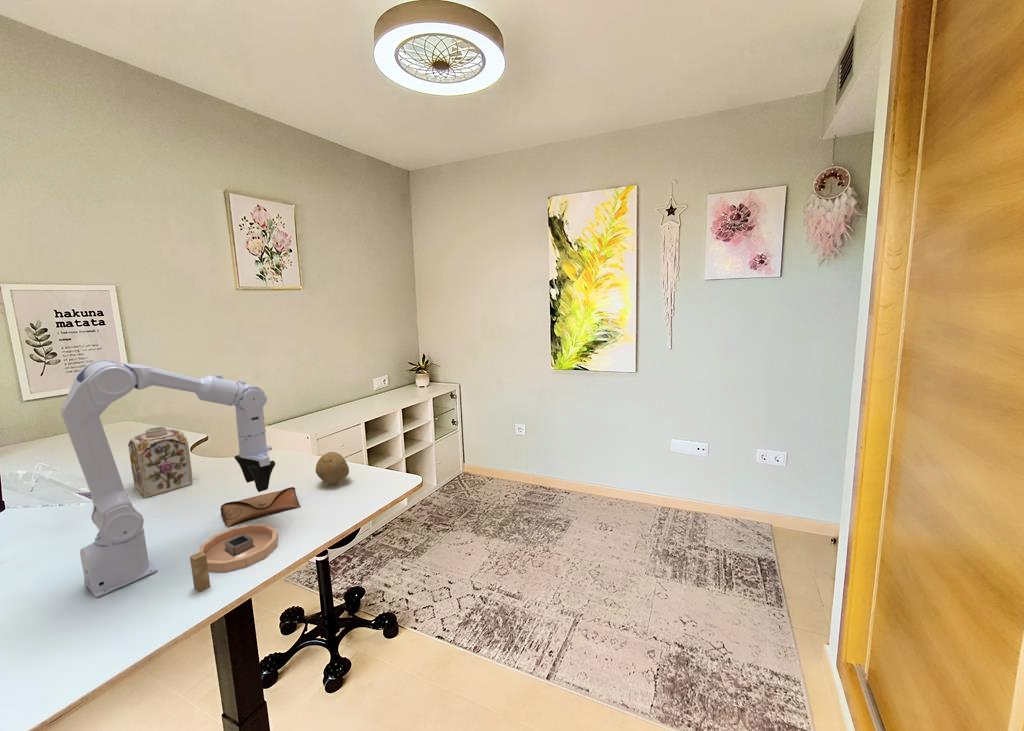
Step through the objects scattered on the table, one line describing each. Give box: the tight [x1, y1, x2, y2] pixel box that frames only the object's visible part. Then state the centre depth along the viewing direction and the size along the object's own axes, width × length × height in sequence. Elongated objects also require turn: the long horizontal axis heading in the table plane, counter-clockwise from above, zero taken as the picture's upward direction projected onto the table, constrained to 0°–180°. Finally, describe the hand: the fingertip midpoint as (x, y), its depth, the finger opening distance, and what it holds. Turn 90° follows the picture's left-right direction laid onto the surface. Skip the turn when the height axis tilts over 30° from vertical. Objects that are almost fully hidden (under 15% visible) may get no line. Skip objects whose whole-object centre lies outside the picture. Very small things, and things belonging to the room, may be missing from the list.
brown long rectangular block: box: [189, 551, 211, 593], centre depth 83 cm, size 2×2×7 cm
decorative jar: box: [127, 426, 194, 499], centre depth 125 cm, size 12×12×18 cm
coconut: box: [315, 451, 350, 486], centre depth 128 cm, size 9×9×10 cm
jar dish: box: [197, 523, 279, 573], centre depth 95 cm, size 15×15×2 cm
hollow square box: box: [223, 534, 255, 557], centre depth 95 cm, size 5×5×2 cm
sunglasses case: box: [220, 486, 302, 529], centre depth 113 cm, size 18×7×7 cm, turn 129°
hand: (256, 485), depth 105 cm, fingers open, 7 cm apart
